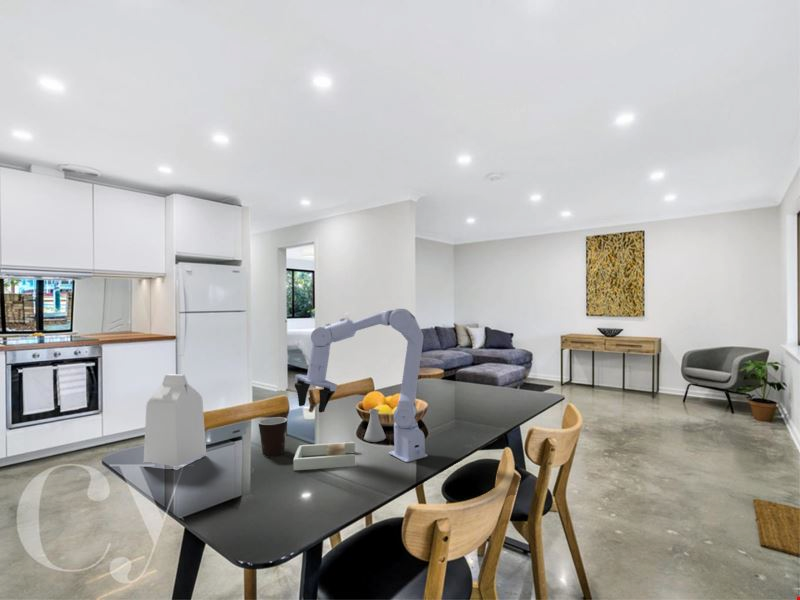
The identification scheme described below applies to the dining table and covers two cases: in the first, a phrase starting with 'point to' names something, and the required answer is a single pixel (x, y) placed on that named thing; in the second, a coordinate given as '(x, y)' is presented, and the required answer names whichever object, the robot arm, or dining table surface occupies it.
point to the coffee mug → (273, 435)
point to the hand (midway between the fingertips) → (311, 408)
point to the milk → (174, 423)
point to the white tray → (323, 457)
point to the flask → (374, 428)
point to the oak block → (336, 449)
